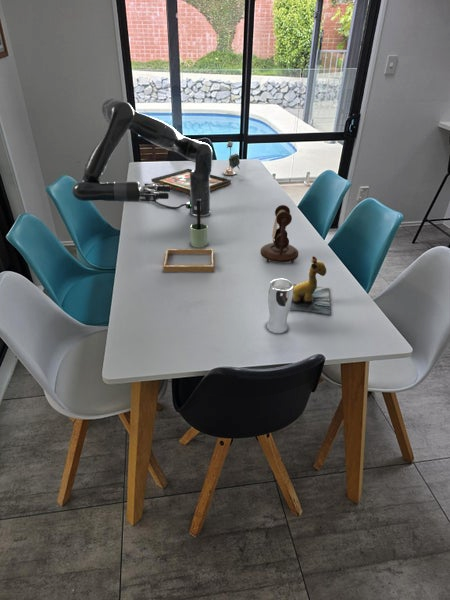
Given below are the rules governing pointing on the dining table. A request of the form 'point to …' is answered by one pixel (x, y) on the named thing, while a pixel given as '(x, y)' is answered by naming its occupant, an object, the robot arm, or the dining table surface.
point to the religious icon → (187, 181)
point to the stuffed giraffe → (312, 292)
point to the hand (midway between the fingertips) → (169, 192)
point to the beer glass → (279, 304)
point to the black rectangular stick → (198, 215)
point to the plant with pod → (232, 161)
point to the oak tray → (188, 267)
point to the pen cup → (199, 235)
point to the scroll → (280, 239)
